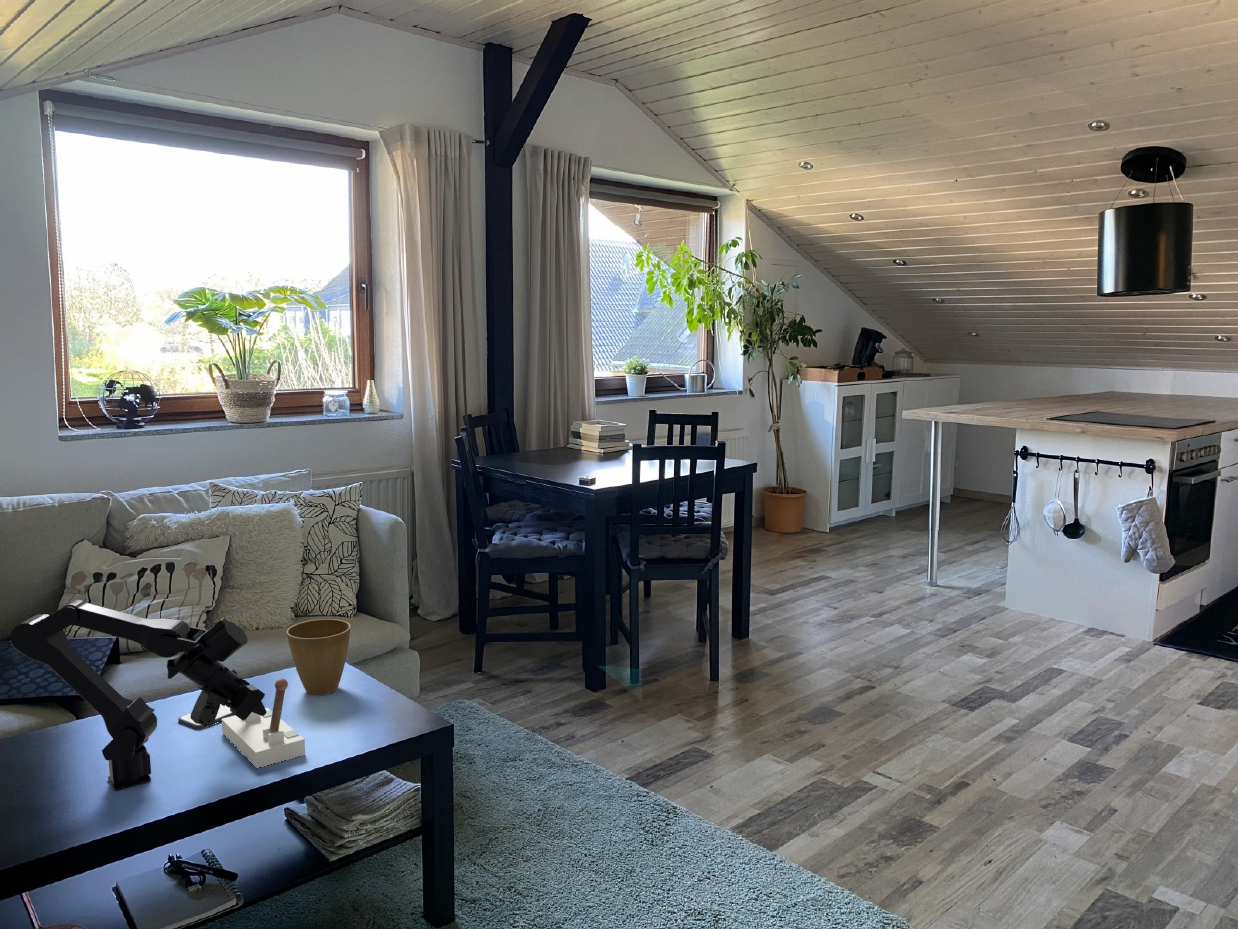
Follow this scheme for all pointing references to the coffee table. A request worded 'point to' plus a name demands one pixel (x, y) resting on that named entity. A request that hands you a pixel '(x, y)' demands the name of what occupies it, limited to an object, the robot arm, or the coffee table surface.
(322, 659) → the plant pot
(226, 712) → the phone case
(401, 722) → the coffee table surface
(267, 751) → the switch panel
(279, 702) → the walnut lever
